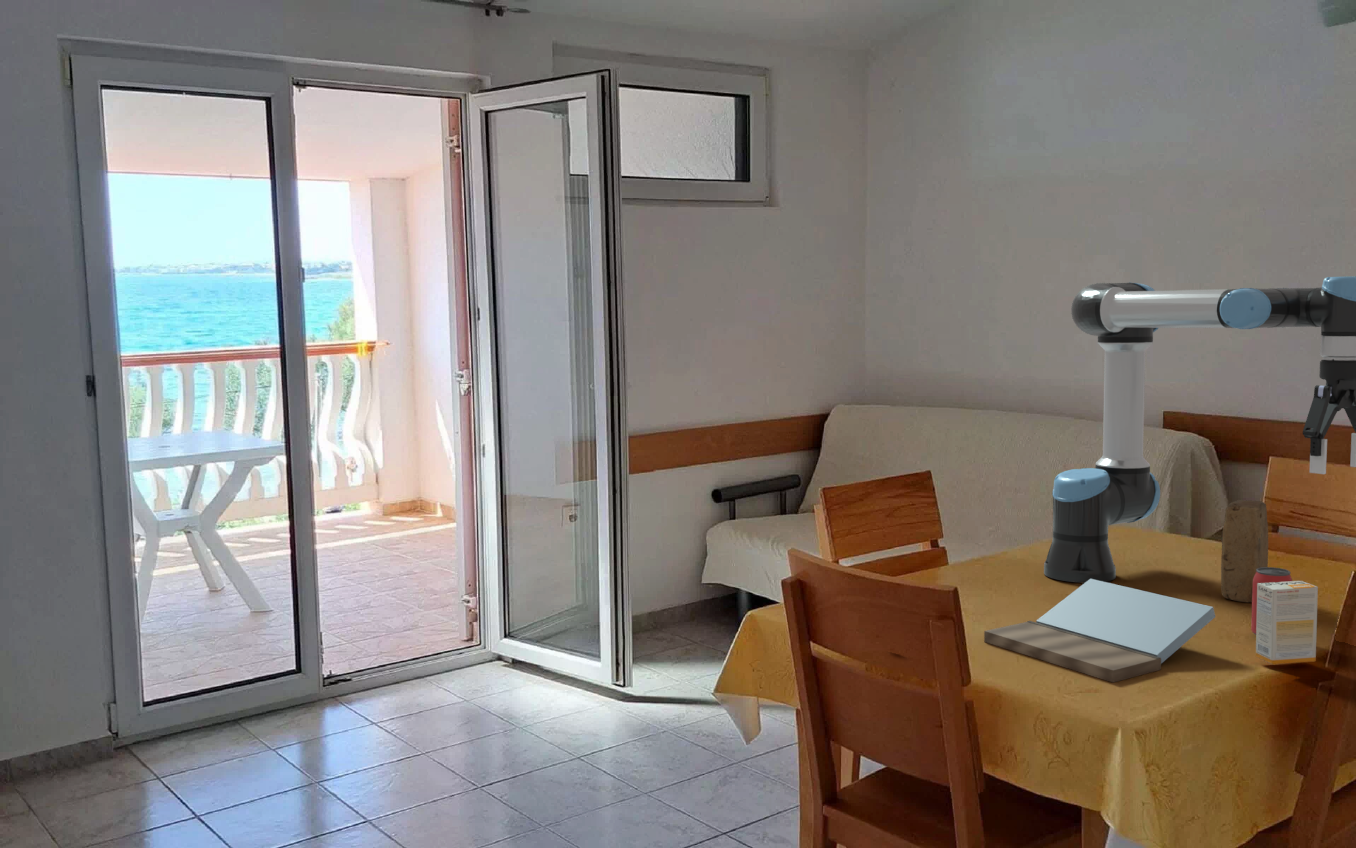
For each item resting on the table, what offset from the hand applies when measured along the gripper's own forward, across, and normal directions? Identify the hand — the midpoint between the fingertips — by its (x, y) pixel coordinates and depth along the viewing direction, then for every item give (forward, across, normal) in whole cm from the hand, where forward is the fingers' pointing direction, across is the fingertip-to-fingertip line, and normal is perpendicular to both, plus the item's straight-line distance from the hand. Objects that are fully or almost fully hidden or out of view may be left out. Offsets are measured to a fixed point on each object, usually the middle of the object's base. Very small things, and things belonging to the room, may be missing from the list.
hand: (1338, 470), depth 222 cm
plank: (+26, -55, +11) cm, 62 cm away
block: (+29, 0, +18) cm, 34 cm away
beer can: (+29, -21, -1) cm, 36 cm away
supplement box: (+29, -33, -11) cm, 45 cm away
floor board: (+28, -61, +11) cm, 68 cm away
